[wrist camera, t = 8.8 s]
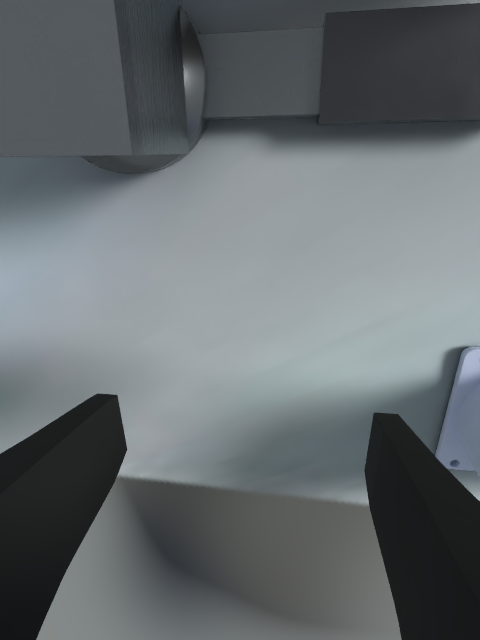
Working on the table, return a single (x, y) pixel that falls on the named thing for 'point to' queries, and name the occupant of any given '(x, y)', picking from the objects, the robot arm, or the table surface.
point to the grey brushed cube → (91, 78)
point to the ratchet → (330, 73)
